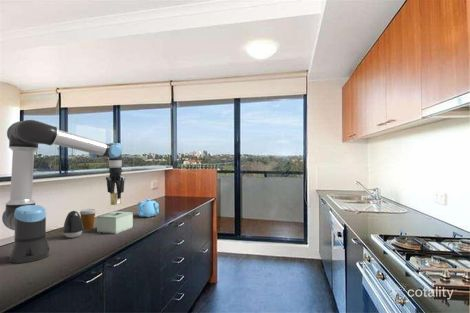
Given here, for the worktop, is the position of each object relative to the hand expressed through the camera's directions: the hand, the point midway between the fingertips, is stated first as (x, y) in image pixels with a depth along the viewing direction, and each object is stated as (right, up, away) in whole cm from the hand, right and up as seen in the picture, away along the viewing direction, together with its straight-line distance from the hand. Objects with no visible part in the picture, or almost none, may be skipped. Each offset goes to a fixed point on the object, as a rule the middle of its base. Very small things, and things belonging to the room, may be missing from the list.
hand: (115, 203), depth 177 cm
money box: (0, -17, 0) cm, 17 cm away
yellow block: (0, 0, 0) cm, 0 cm away
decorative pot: (+8, -17, +42) cm, 46 cm away
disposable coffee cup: (-20, -17, +4) cm, 27 cm away
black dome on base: (-18, -17, -15) cm, 29 cm away
